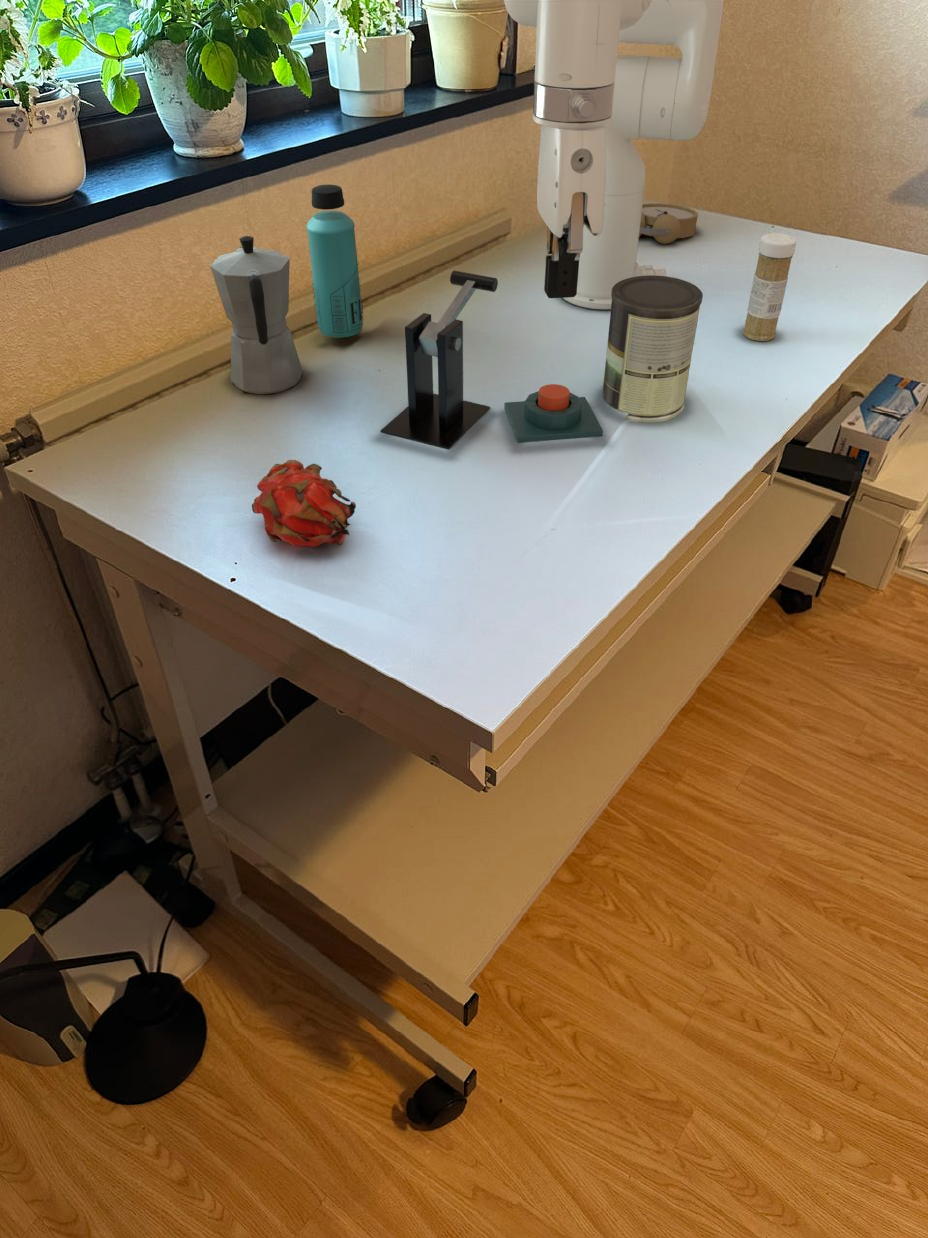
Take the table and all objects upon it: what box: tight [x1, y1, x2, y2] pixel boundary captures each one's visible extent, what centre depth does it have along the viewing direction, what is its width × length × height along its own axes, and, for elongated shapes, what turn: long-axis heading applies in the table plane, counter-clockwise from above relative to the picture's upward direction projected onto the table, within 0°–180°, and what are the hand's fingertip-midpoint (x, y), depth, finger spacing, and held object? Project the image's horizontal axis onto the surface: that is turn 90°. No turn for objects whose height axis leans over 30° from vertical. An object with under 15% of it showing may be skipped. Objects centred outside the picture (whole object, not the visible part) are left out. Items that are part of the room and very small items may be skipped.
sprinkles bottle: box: [742, 232, 797, 342], centre depth 127 cm, size 5×5×13 cm
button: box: [538, 383, 571, 411], centre depth 108 cm, size 4×4×2 cm
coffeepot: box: [209, 235, 304, 395], centre depth 114 cm, size 15×9×18 cm, turn 15°
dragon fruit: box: [251, 459, 357, 548], centre depth 92 cm, size 8×8×12 cm
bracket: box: [379, 312, 491, 450], centre depth 107 cm, size 11×9×13 cm
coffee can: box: [602, 275, 704, 423], centre depth 111 cm, size 10×10×14 cm
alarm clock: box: [639, 202, 699, 245], centre depth 162 cm, size 11×5×15 cm
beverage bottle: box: [305, 184, 365, 339], centre depth 124 cm, size 6×7×20 cm
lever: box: [419, 270, 499, 358], centre depth 106 cm, size 13×6×2 cm, turn 153°
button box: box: [503, 390, 604, 444], centre depth 110 cm, size 10×8×4 cm
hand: (560, 294), depth 100 cm, fingers closed
